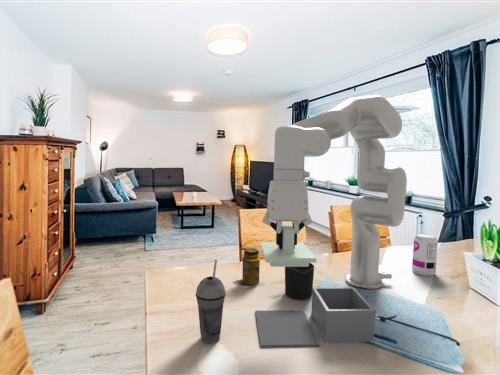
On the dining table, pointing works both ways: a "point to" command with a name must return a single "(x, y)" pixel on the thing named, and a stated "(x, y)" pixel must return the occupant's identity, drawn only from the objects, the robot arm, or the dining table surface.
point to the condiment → (250, 269)
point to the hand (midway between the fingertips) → (286, 247)
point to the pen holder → (299, 282)
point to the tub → (342, 314)
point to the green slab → (287, 251)
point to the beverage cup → (210, 307)
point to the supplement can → (425, 254)
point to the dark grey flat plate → (284, 329)
